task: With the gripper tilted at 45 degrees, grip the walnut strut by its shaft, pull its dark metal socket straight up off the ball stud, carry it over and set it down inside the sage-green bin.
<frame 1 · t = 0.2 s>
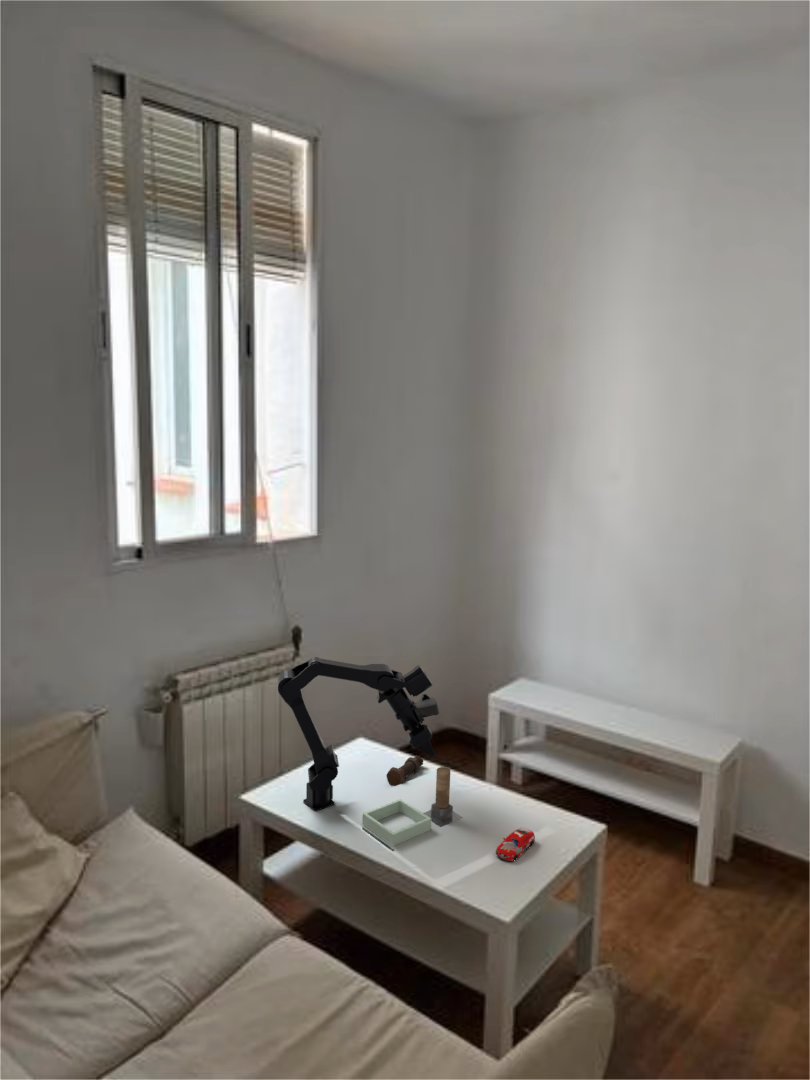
hand: (430, 748, 221), 15 cm above the table, tool tilted 35°, fingers open, 9 cm apart
bin: (396, 831, 205), on the table
bolt: (407, 777, 236), on the table
strut: (441, 815, 211), point 1 cm above the table, touching stud block
stud block: (441, 820, 211), on the table
race car: (515, 850, 199), on the table
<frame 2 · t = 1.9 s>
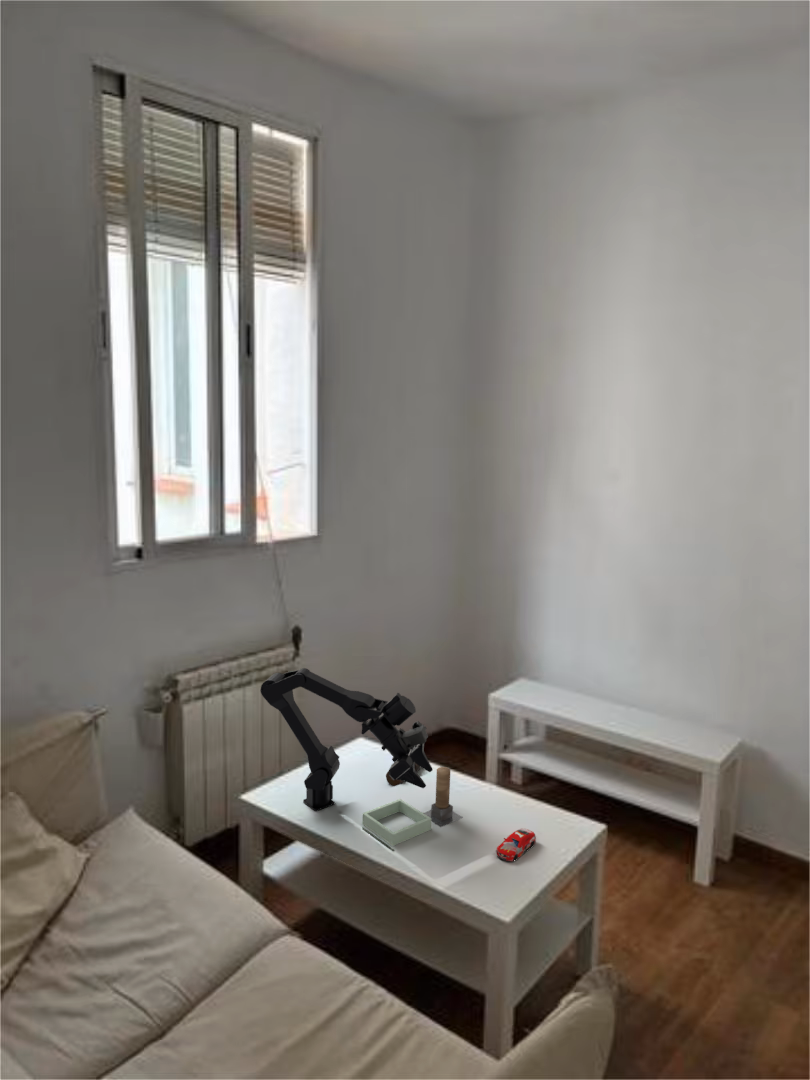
hand: (428, 778, 210), 11 cm above the table, tool tilted 45°, fingers open, 9 cm apart
nothing on the table moved.
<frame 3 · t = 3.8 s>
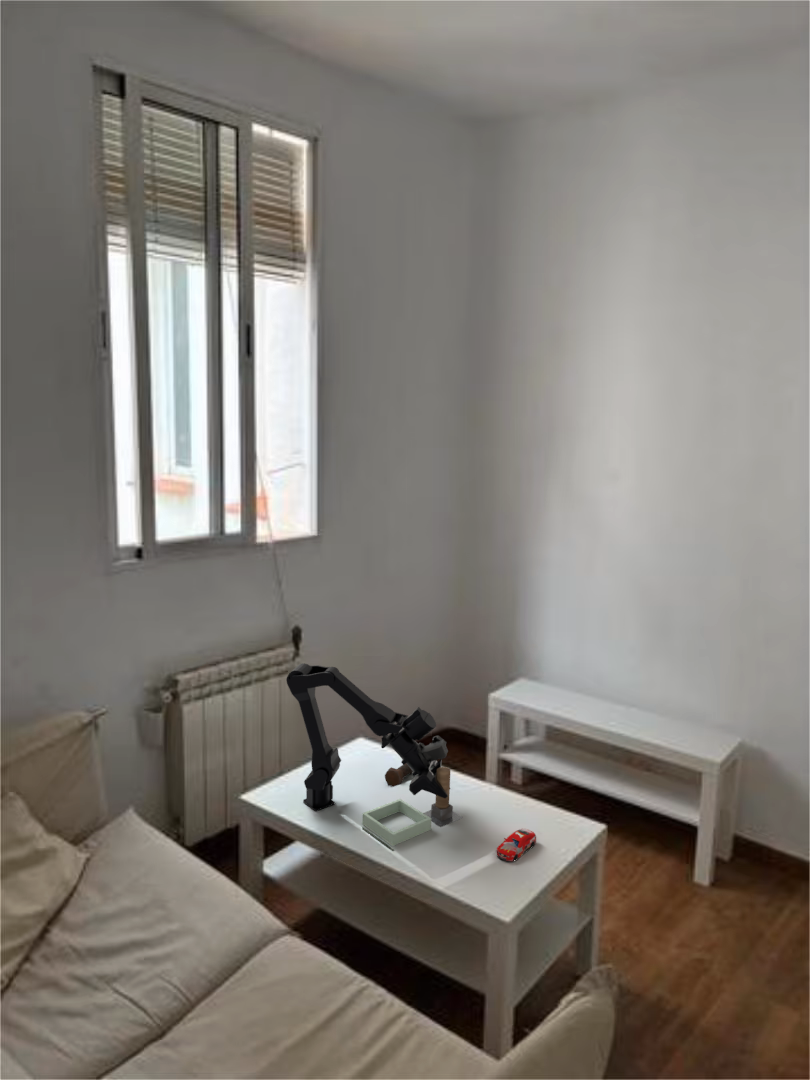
hand: (447, 793, 209), 8 cm above the table, tool tilted 45°, fingers closed on strut, 4 cm apart
strut: (441, 815, 211), point 2 cm above the table, touching gripper, stud block
everything else where it was.
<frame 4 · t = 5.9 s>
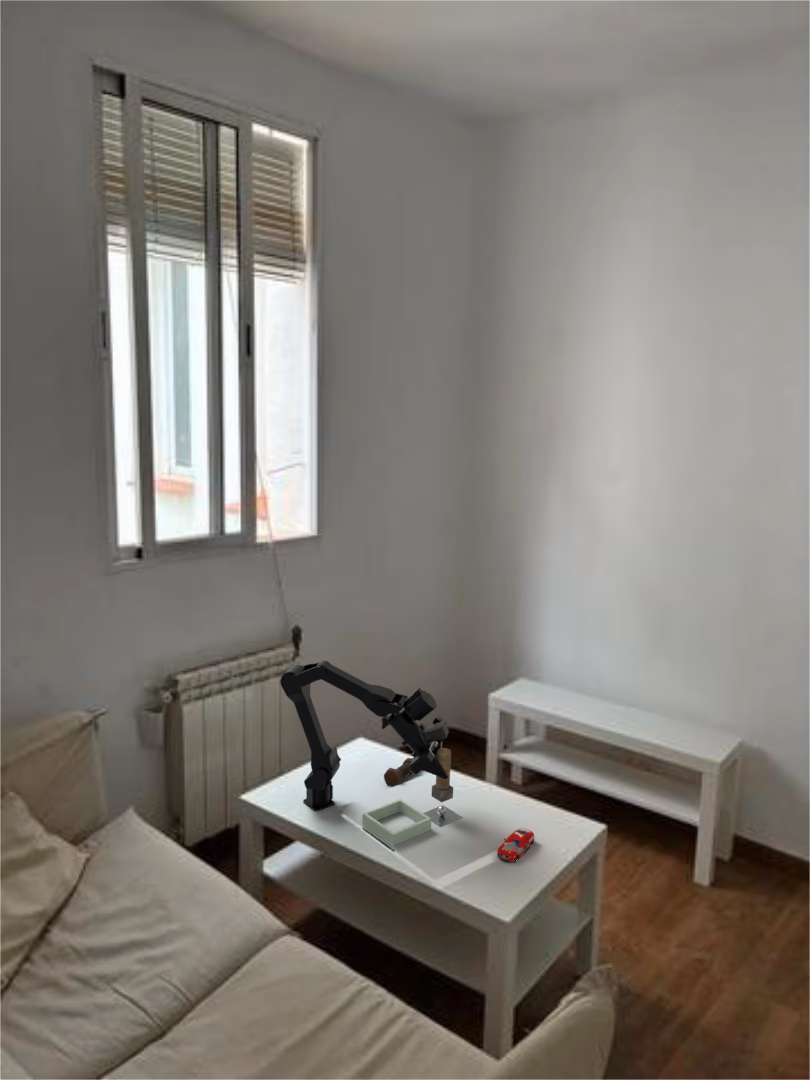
hand: (448, 774, 208), 13 cm above the table, tool tilted 45°, fingers closed on strut, 4 cm apart
strut: (442, 797, 210), point 7 cm above the table, touching gripper
everything else where it was.
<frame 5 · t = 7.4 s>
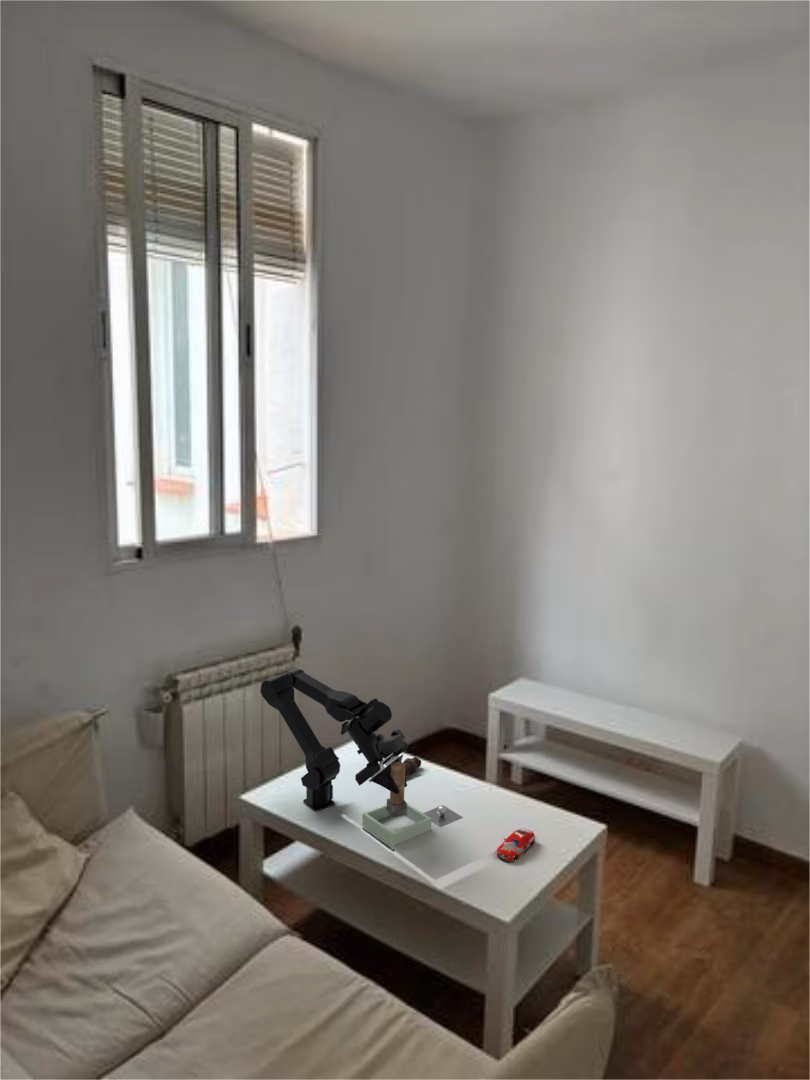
hand: (402, 790, 202), 12 cm above the table, tool tilted 45°, fingers closed on strut, 4 cm apart
strut: (396, 812, 204), point 6 cm above the table, touching gripper
when the fingers open (9 cm above the table, at t = 8.3 s): strut drops 1 cm, resting on bin.
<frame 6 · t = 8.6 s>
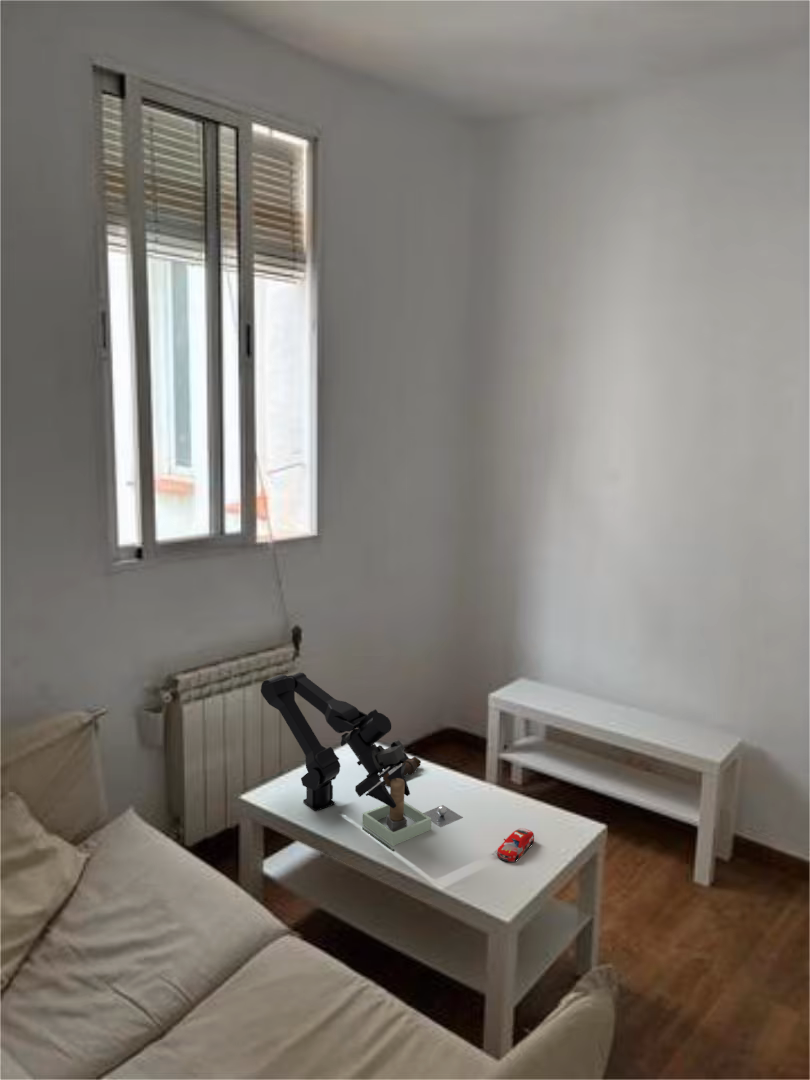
hand: (402, 801, 203), 9 cm above the table, tool tilted 45°, fingers open, 7 cm apart
strut: (396, 828, 205), point 1 cm above the table, touching bin
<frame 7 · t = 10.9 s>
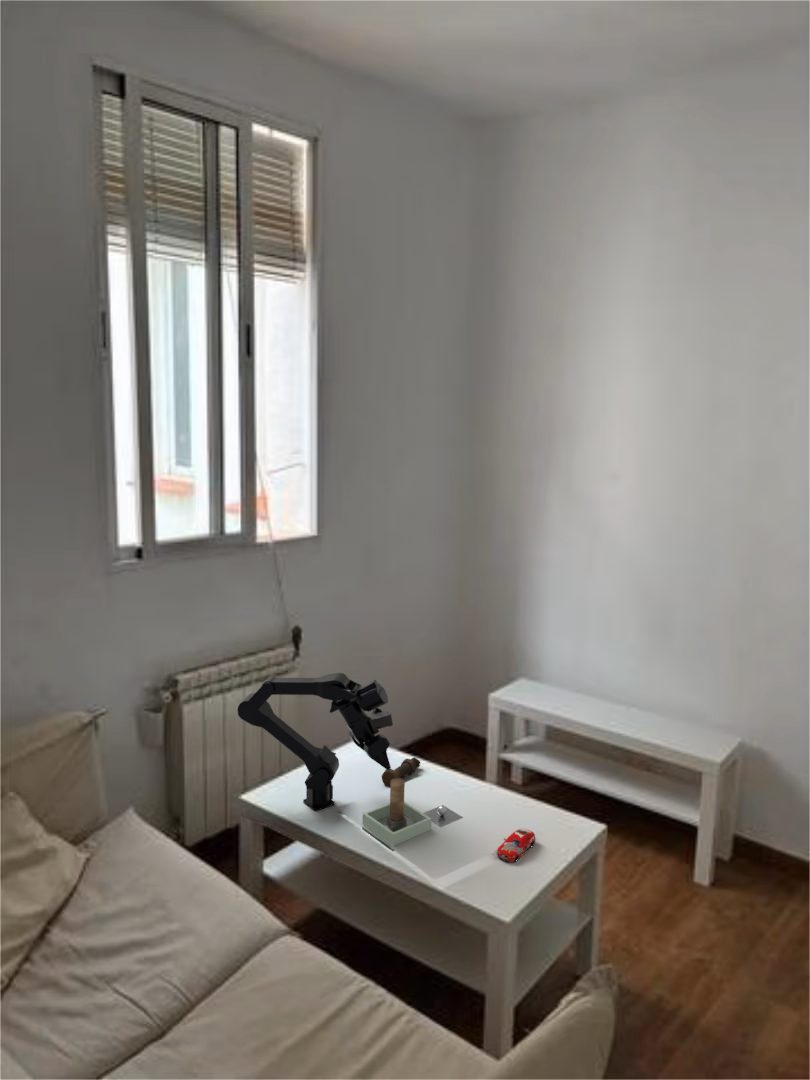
hand: (383, 764, 215), 12 cm above the table, tool tilted 30°, fingers open, 9 cm apart
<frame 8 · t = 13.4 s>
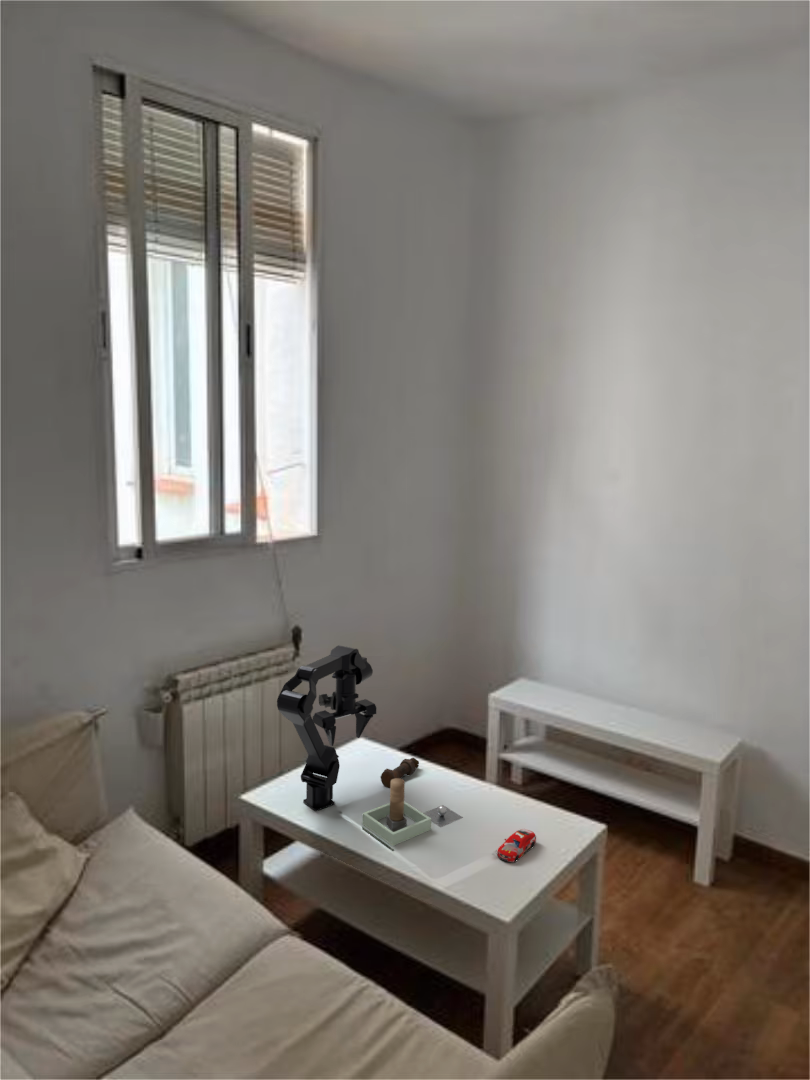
hand: (344, 741, 227), 13 cm above the table, tool pointing down, fingers open, 9 cm apart
at the end: strut inside the target area on the bin (0.1 cm from its centre), point 1.0 cm above the bin's base; the gripper is holding nothing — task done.
